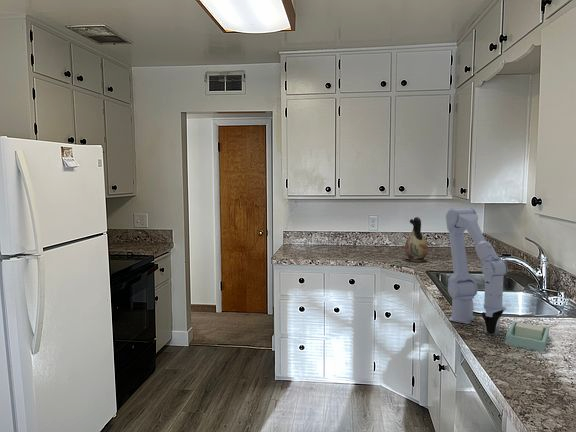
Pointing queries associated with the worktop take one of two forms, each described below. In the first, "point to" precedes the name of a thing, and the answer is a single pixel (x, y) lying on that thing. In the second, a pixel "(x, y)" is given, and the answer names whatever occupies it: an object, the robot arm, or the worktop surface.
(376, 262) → the worktop surface
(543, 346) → the tote
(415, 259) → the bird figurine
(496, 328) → the tin can
